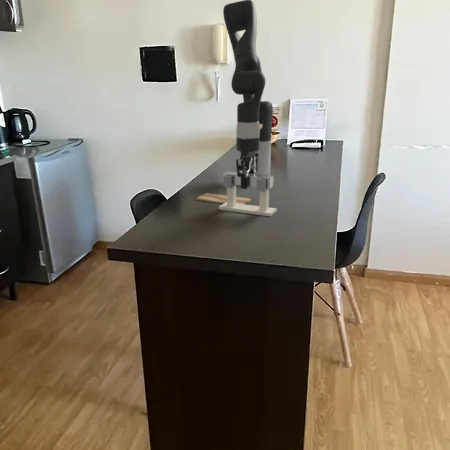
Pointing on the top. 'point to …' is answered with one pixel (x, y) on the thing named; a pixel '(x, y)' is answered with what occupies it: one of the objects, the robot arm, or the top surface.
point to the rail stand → (233, 206)
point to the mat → (221, 199)
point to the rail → (250, 179)
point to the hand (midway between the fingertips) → (247, 186)
